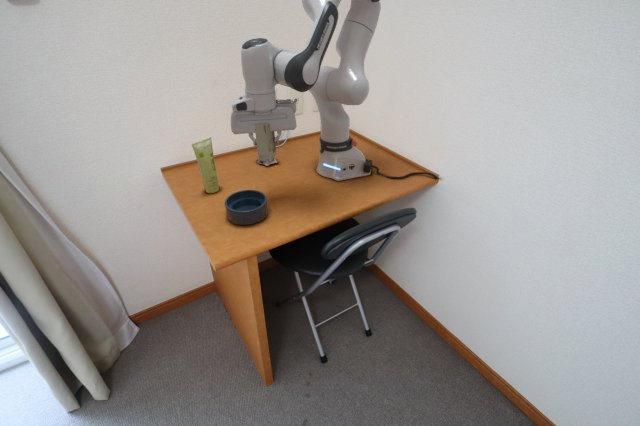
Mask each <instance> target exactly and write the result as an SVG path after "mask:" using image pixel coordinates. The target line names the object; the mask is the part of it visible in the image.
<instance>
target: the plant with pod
mask: <svg viewBox="0 0 640 426" xmlns="http://www.w3.org/2000/svg"><path fill="white" fill-rule="evenodd" d="M256 162H257V163H258V164H259V165H265V167H269V166H271V165H275V164H279V161H277V159H276V158H275V157H274V158H273V159H272V161H260V160H259V159H258V160H256Z"/></svg>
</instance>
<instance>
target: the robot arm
mask: <svg viewBox="0 0 640 426" xmlns="http://www.w3.org/2000/svg"><path fill="white" fill-rule="evenodd" d="M341 1H342V0H301V4H302V7H303V10H304V12H305V13H306V15H307V16H308V17H309V18H310V20H312V21H313V26H312V29H311V30H310V34H309V36H308V38H307V41H306V42H305V45H304V47H303V48H302V49H301V50H298V51H292V50H289V49H284V48H281V47H279V46H277V45H275V44H273V43H271V42H270V41H269V39H267V38H264V37H258V38H251V39H249V40H246V41H245V42H244V43H243V44H242V45H241V50H240V63H241V72H242V77H243V80H244V83H245V86H244V94H242V95H240V96H237V97H235V98H233V99H232V101H231V112H230V130H231V132H232V134H233V135H242V134H244V135H245V134H248V137H249V138H250V140H251V141H252V144H253V146H254V147H257V141H256V137H254V134H256V133H255V125H254V124H264V123H268V124H270V132H272V131H274V132H276V135H275V137H274V144H276V145H279V144H280V138H281V136H282V133H283V132H285V131H294V130H296V128H297V127H298V126H297V120H296V119H297V118H296V115H295V114H296V112H297V103H296V102H295V101H294V100H292V99H291V98H287V99H277V96H276V95H277V94H276V85H281V86H284V87H287V88H290V89H293V91H296V92H299V93H306V92H310V94H311V96H312V97H313V99H314V102H315V104H316V106H317V111H318V114H319V120H320V136H319V141H318V151H319V156H318V157H319V158H318V162H317V166H316V168H315V171H316V173H317V174H319V176H322V177H325V178H328V179H332V180H335V181H337V182H340V181H346V180H351V179H355V178H361V177H367V176H370V175H371V174H372V168H373V169H375V170H376V173H377V175H379V176H383V177H385V178H388V179H392V180H394V179H395V180H401V179H405V178H407V177H410V176H412V175H428V176H432V177H433V178H435V180H439V177H438V176H437V175H435V174H434V173H432V172H426V171H419V172H418V171H416V172H415V171H414V172H410V173H407V174H405V175H402V176H401V175H400V176H389V175H385V174H382V173H381V172H380V169H379V167H378V166H376V165H373V159H367V158H366V157H365V155H364V153H363V152H362V151H361V150H360V149H359V148H357V146H358V142H357V141H356V140H355V139H354V138H353V137H352V136H351V135H350V125H351V118H350V116H349V114H348V113H347V111H346V110H345V109H344V106H343V105H345V106H360V105H361V104H363V103H364V102H365V101H366V100H367V99H368V96H369V93H370V82H369V79H368V77H367V76H366V73H365V61H366V57H367V53H368V51H369V48H370V45H371V43H372V40H373V37H374V35H375V32H376V30H377V27H378V23H379V19H380V15H381V10H382V5H381V2H380V1H381V0H350V6H349V7H350V8H349V10H348V11H347V13H346V16H345V18H344V21H343V23H342V26H341V28H340V31H339V34H338V35H337V40H336V41H335V50H336V53H337V54H338V56H339V57H340V60H339V65H338V67H333V66H327V65H322V64H323V61H324V58H325V56H326V53H327V51H328V48H329V46H330V43H331V41H332V38H333V36H334V33H335V31H336V28H337V24H338V20H339V10H338V8H339V6H340V4H341ZM282 131H283V132H282Z"/></svg>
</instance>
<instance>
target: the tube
mask: <svg viewBox="0 0 640 426" xmlns="http://www.w3.org/2000/svg"><path fill="white" fill-rule="evenodd" d="M191 147H192V149H193V152H194V155H195V158H196V161H197V164H198V167H199V171H200V174H201V175H200V176H201V178H202V182H203V186H204V190H205V192H206V193H207V194H214V193H217V192H219V191H220V185H219V179H218V174H217V168H216V162H215V156H214V151H213V150H214V149H213V142H212V137H208V138H205V139H202V140H200V141H197V142H194V143H191Z"/></svg>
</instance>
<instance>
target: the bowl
mask: <svg viewBox="0 0 640 426" xmlns="http://www.w3.org/2000/svg"><path fill="white" fill-rule="evenodd" d="M224 208H225V211H226V217H227V219H228V221H230V222H231V223H232V224H236V225H242V226H247V225H248V226H249V225H253V224H257V223H260V222H262V221H263V220H264V219H265V218H266V217H267V216H268V214H269V207H268V197H267V196H266V194H265V193H264V192H262V191H260V190H256V189H244V190H238V191H235V192H233V193H231V194H230V195H228V196H227V197H226V198H225V200H224Z"/></svg>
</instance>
